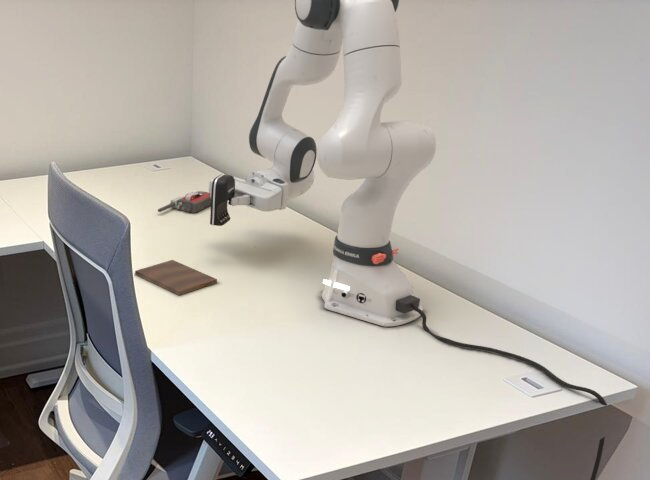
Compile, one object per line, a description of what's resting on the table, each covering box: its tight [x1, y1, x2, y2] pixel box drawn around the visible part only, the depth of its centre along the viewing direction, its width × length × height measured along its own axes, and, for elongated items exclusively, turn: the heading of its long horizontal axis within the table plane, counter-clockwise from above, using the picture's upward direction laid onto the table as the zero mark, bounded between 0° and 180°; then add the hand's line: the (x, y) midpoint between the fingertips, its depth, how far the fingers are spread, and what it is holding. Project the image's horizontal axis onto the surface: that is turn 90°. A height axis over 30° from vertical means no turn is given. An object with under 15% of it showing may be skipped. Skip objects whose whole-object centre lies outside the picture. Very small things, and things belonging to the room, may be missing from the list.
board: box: [134, 259, 218, 296], centre depth 203 cm, size 16×12×1 cm
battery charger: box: [209, 173, 235, 227], centre depth 205 cm, size 7×4×11 cm, turn 151°
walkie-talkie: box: [157, 190, 211, 214], centre depth 248 cm, size 9×4×20 cm
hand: (221, 199), depth 205 cm, fingers closed on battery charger, 5 cm apart
